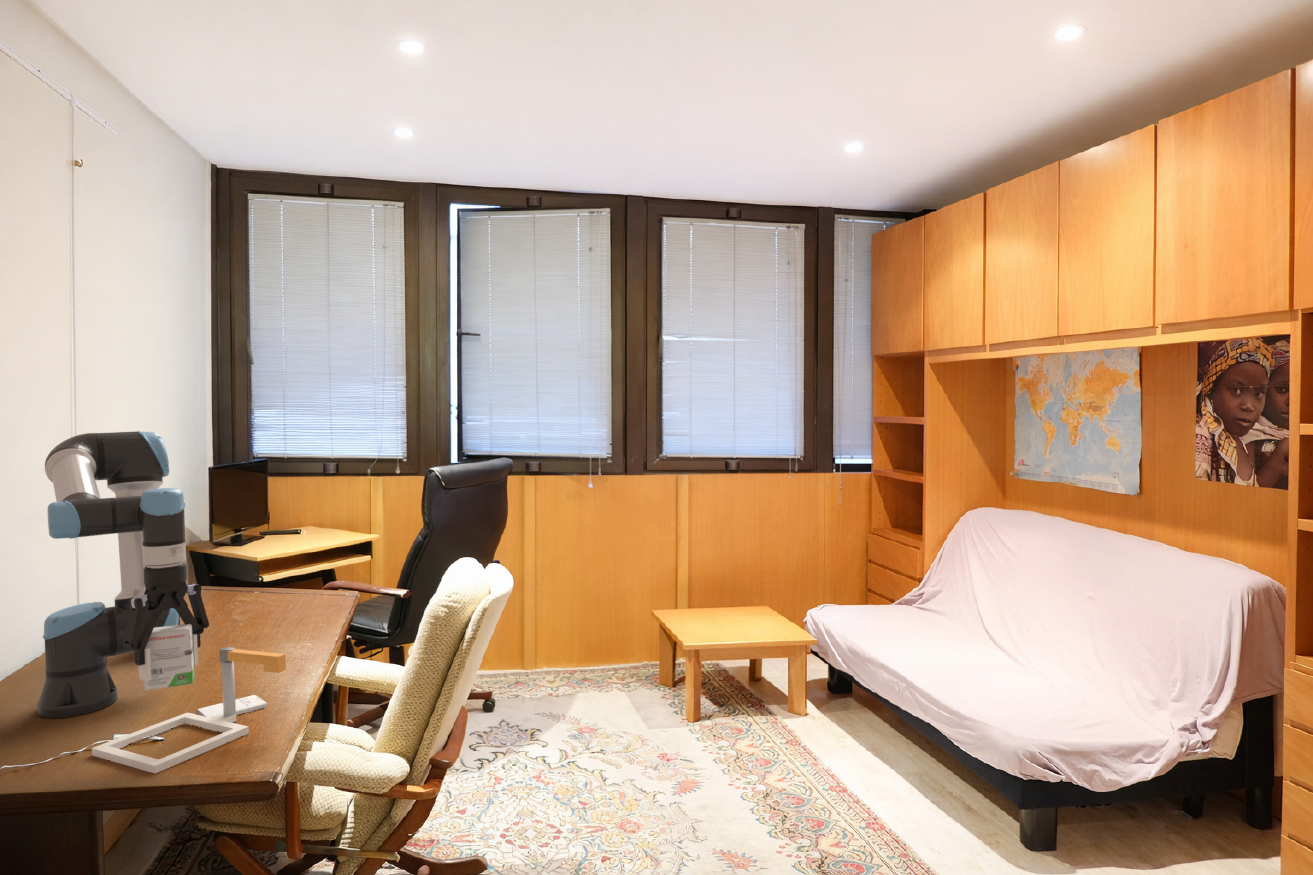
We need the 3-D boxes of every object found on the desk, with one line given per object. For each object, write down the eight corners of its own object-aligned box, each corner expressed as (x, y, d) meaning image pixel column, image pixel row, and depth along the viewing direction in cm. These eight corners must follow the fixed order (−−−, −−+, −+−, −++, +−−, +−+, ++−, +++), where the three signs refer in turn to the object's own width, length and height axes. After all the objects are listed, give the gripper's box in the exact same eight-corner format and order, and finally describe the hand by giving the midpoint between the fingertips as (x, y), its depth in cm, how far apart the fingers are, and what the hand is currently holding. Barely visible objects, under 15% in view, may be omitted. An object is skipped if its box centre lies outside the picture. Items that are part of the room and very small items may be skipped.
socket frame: (92, 755, 159) (89, 689, 158) (205, 712, 181) (202, 654, 180) (155, 773, 150) (152, 703, 150) (265, 725, 172) (263, 664, 172)
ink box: (195, 676, 167) (193, 621, 167) (192, 684, 163) (190, 628, 162) (148, 683, 164) (145, 627, 163) (143, 691, 159) (141, 633, 159)
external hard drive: (196, 715, 180) (254, 700, 189) (208, 725, 174) (267, 708, 183) (196, 708, 180) (254, 693, 189) (208, 718, 174) (267, 702, 183)
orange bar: (277, 673, 169) (276, 656, 169) (216, 667, 174) (216, 650, 174) (287, 669, 172) (286, 652, 171) (228, 662, 177) (227, 646, 176)
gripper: (121, 576, 150) (126, 692, 152) (226, 555, 170) (230, 658, 171) (97, 573, 154) (102, 686, 155) (203, 553, 173) (207, 653, 175)
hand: (169, 671), depth 163 cm, fingers closed on ink box, 9 cm apart
